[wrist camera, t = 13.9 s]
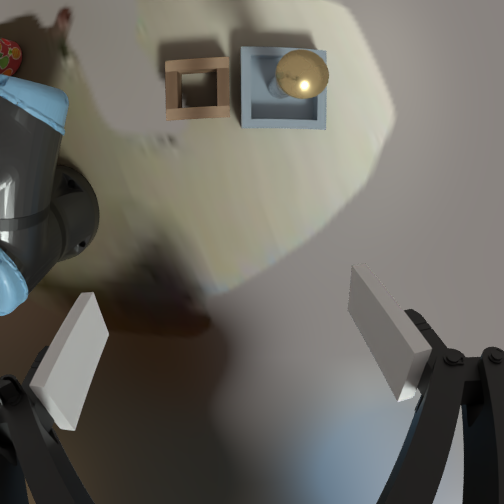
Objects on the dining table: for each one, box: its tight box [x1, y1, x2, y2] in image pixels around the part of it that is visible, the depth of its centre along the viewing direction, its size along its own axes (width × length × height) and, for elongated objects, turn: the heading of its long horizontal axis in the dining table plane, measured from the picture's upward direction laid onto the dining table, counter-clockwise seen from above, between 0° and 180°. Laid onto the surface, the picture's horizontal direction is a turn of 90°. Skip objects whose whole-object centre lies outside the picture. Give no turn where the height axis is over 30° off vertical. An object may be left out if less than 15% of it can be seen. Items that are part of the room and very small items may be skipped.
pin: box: [268, 49, 329, 99], centre depth 32 cm, size 5×5×15 cm
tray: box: [240, 47, 327, 130], centre depth 39 cm, size 11×11×4 cm
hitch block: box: [165, 57, 230, 121], centre depth 38 cm, size 8×8×4 cm
